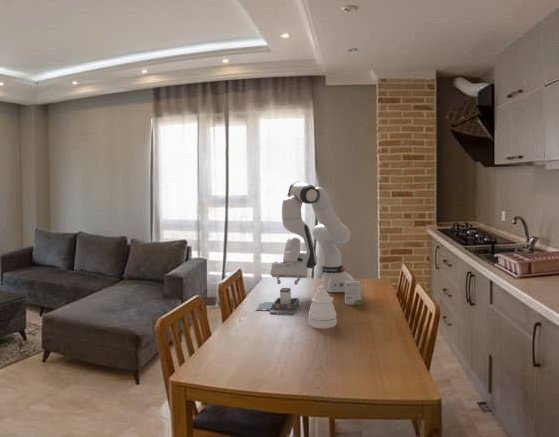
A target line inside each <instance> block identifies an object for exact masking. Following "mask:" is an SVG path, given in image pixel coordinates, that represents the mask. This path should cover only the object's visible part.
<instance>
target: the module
mask: <svg viewBox="0 0 559 437" xmlns="http://www.w3.org/2000/svg"><path fill="white" fill-rule="evenodd" d="M291 288H292V287H281V289H280V290H279V296H280V297H279V298H280V302H281V304H291V298H292V296H291V295H292V292H291Z"/></svg>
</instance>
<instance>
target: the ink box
mask: <svg viewBox="0 0 559 437" xmlns="http://www.w3.org/2000/svg"><path fill="white" fill-rule="evenodd" d="M344 303H345V304H344V305H347V306H348V305H349V306H352V305H357V306H358V305H362V282H361V280H354V281H345V292H344Z"/></svg>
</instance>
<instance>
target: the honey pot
mask: <svg viewBox="0 0 559 437" xmlns="http://www.w3.org/2000/svg"><path fill="white" fill-rule="evenodd" d="M333 302H334V298H333V297H332V296H330V294H329V293H328V291H326V290H325V289H324V286H321V285H319V286H318V289H317V291H316V292H315V294H314V296H313V297H312V298H311V304H310V308H309V311H308V325H309V326H310V327H312V328H316V329H330V328H334V327H335V326H337V320H338V319H337V311H336V308H335V305H334V304H333Z"/></svg>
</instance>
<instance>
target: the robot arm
mask: <svg viewBox="0 0 559 437" xmlns="http://www.w3.org/2000/svg"><path fill="white" fill-rule="evenodd" d="M303 204H307V205H311V207H312V211H313V212H314V216H315V219H316V220H317V222H319V223H320V224H316V225H315V226H314V227H313V229H312V235H311V231H310V228H309V226H308V225H307V224H306V223H305V222H304V220H303V217H302V206H303ZM334 210H335V209H334V207H333V205H332V202H331V199H330V197H329V194H328V192H327V191H326V189H325V188H323V187H321V186H314V185H313V184H309V183H307V182H302V181H295V182H293V183H291V184H290V186H289V189H288V192H287V197H286V198H284V199H283V200H282V206H281V219H282V225H283V227H284V229H285V230H287V231H289V232H290V233H292V234H294V235H297V236H300V237H301V238H303V239H302V240H303V241H304V245H305V249H306V250H301V248H302V247H301V239H300V238H298V237H289V238H288V239H287V241H286V242H285V245H284V247H285V248H284V253H283V257H282V258H283V259H282V261H274V262H272V263H271V268H270V275H271V277H272V278H276V283H277V285H280V284H281V278H288V279H294V285H299V282H300V280H301V279H307V278H308V269H313V268H314V267H316V265H317V264H318V256H317V253H316V251H315V247H314V243H313V239H312V238H314V239H315V241H316V242H317V243H318V246H319V247H320V251H321V255H322V256H321V257H322V265H321V275H322V280H321V285H320V286H324V289H325V290H326V291H327V293H328V292H329V293H345V281H355V279H354V277H353V276H351V275H350V274H349V273H348V272H346V267H345V265H342V253H341V251H340V250H339V248H337V247H336V244H345V243H348V242H349V240H350V239H351V236H352V234H351V230H350V228H349V227H348V226H346V225H345V224H344V223H342V221H341V220H340V219H339V217H338V216H337V215H336V213H335V211H334ZM312 236H313V237H312ZM295 279H296V280H295Z"/></svg>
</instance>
